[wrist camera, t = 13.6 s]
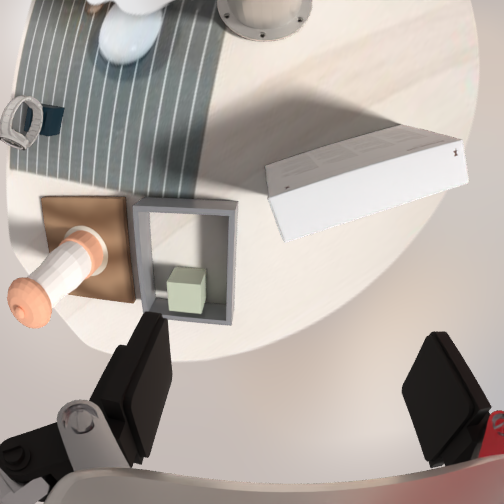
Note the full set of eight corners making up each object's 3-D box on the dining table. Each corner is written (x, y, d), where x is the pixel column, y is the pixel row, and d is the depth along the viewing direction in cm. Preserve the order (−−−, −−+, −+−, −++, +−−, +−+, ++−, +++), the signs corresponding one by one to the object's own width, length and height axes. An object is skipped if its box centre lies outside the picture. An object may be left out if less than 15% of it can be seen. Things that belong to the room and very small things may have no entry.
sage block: (175, 266, 50) (166, 281, 46) (206, 268, 50) (200, 284, 46) (176, 293, 52) (169, 310, 48) (206, 296, 52) (201, 313, 48)
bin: (143, 197, 46) (132, 205, 42) (238, 201, 46) (235, 210, 41) (152, 301, 53) (143, 316, 49) (234, 309, 53) (231, 325, 49)
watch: (33, 140, 42) (-11, 151, 32) (42, 93, 39) (-3, 95, 29) (57, 146, 43) (14, 158, 33) (67, 96, 39) (23, 98, 29)
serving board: (45, 196, 46) (40, 198, 45) (125, 196, 46) (122, 199, 45) (61, 289, 53) (58, 293, 52) (135, 299, 53) (133, 303, 52)
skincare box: (276, 201, 45) (282, 245, 31) (263, 165, 43) (262, 192, 29) (412, 159, 42) (471, 184, 27) (403, 123, 40) (463, 133, 25)
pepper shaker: (92, 278, 50) (32, 348, 33) (61, 252, 49) (-7, 312, 31) (110, 249, 48) (46, 317, 31) (77, 221, 46) (2, 277, 29)
